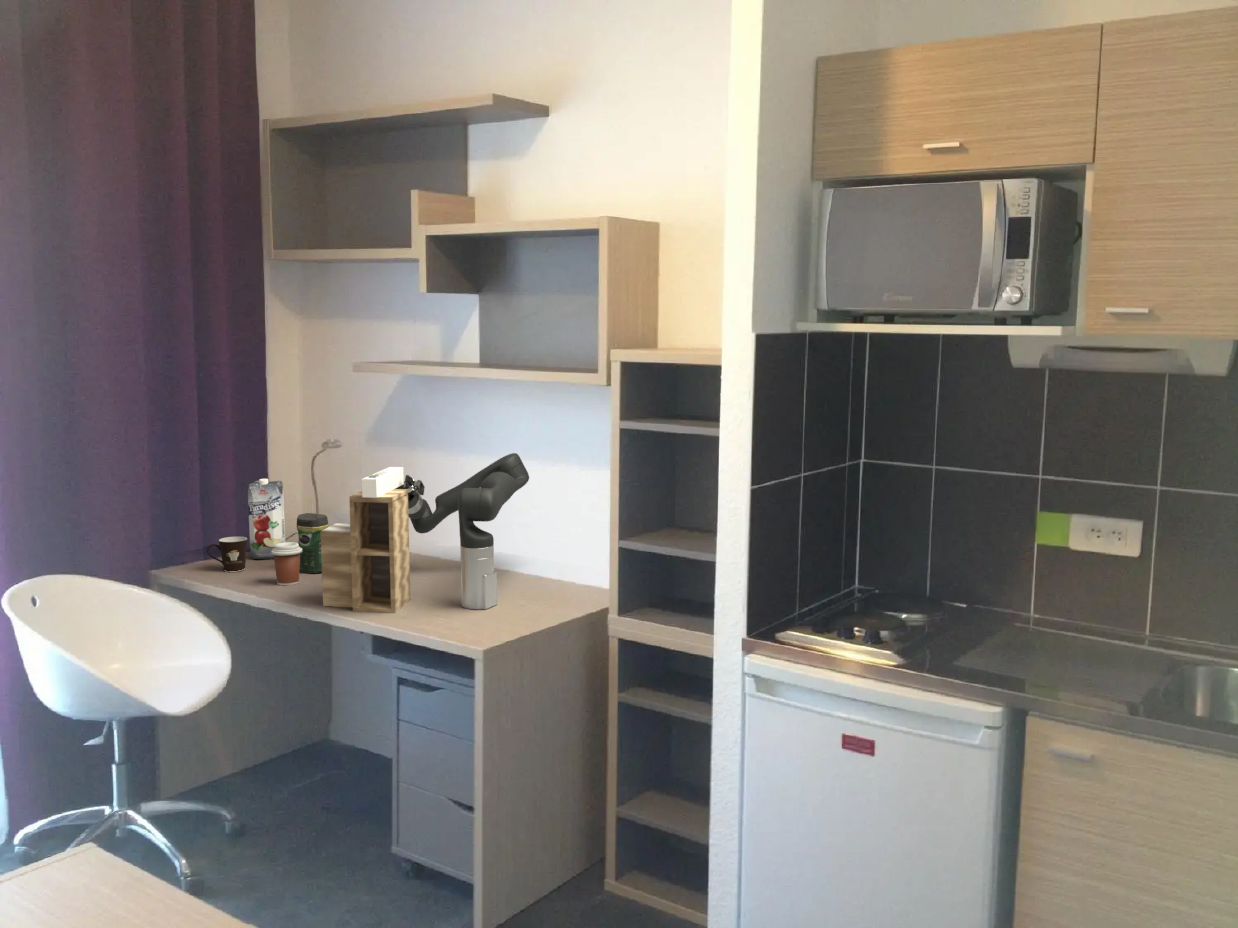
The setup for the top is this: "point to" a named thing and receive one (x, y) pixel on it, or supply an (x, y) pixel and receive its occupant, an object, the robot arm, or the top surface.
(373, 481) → the white long block
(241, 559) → the coffee mug
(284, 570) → the coffee cup
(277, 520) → the juice carton
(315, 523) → the coffee jar
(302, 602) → the top surface
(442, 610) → the top surface
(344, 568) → the step shelf
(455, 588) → the top surface
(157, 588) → the top surface
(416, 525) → the robot arm
